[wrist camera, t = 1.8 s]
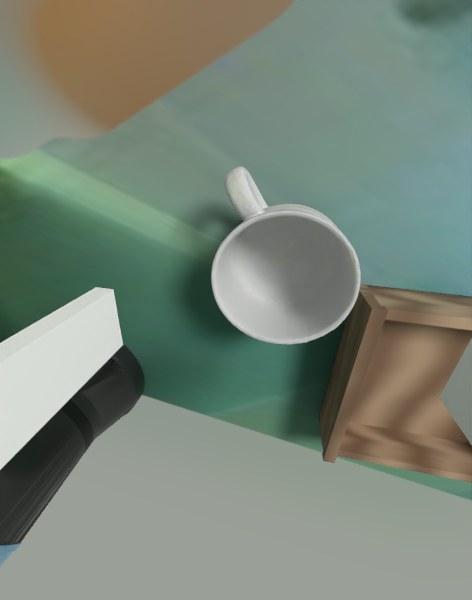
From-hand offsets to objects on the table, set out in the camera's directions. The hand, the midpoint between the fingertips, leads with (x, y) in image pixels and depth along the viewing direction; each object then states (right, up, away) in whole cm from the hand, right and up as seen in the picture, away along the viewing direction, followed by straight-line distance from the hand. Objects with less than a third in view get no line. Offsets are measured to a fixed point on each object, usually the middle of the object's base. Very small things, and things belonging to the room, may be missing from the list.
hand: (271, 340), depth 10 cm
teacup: (+3, +7, +15) cm, 17 cm away
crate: (+20, -7, +18) cm, 28 cm away
